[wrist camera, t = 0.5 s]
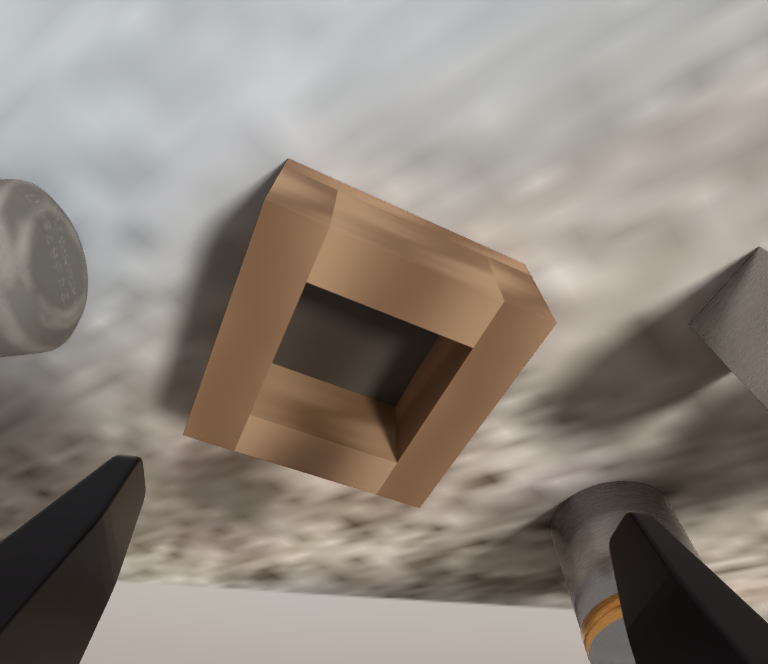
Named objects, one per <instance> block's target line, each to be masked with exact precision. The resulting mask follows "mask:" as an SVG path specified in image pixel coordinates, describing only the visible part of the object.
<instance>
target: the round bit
mask: <svg viewBox="0 0 768 664" xmlns="http://www.w3.org/2000/svg"><path fill="white" fill-rule="evenodd" d="M631 511H632V512H641V513H647V514H650V515H652V516H653V517H654V518H655V519H656V520H658V521H659V522H660V523H661V524H662V525H663V526H664V527H665V528H666V529H667V530H668V531H669V532H670V533H672V534H673V535H674V536H675V537H676V538H677V539H678V540H679V541H680V542H681V543H682V544H683V545H684V546H685V547H687V548H688V549H689V550H690V551H691V552H692V553H693V554H694V555H695V556H696V557H697V558H698V559H699V560H700V561H702V560H701V558H700V557H699V555H698V553H697V551H696V550H695V548H694V546H693V544H692V543H691V541H690V539H689V537H688V536H687V534H686V532H685V530H684V529H683V527H682V525H681V523H680V522H679V520H678V518H677V516H676V514H675V513H674V511H673V509H672V507H671V506H670V504H669V502H668V500H667V499H666V497H665V496H664V495H663V494H662V493H661V492H660V491H659V490H657V489H655V488H654V487H651V486H649V485H646V484H643V483H638V482H631V481H616V482H608V483H603V484H599V485H595V486H592V487H589V488H587V489H584V490H582V491H580V492H578V493H576V494H575V495H573V496H571V497H570V498H568V499H567V500H566V501H565V502H564V503H562V504H561V505H560V506H559V508H558V509H557V510H556V511H555V513H554V515H553V517H552V519H551V522H550V534H551V538H552V541H553V544H554V547H555V550H556V554H557V557H558V560H559V563H560V566H561V569H562V573H563V576H564V579H565V582H566V585H567V589H568V592H569V595H570V598H571V601H572V604H573V608H574V611H575V614H576V617H577V620H578V623H579V627H580V630H581V636H582V639H583V643H584V646H585V649H586V652H587V656H588V659H589V661H590V663H591V664H636V663H635V659H634V656H633V653H632V650H631V646H630V643H629V639H628V636H627V632H626V628H625V624H624V620H623V615H622V611H621V606H620V601H619V596H618V591H617V586H616V581H615V576H614V571H613V566H612V561H611V556H610V551H609V541H610V538H611V536H612V534H613V532H614V531H615V529H616V527H617V526H618V524H619V523H620V521H621V519H622V518H623V516H624V515H625V514H626V513H628V512H631Z"/></svg>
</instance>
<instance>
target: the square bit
mask: <svg viewBox="0 0 768 664" xmlns="http://www.w3.org/2000/svg"><path fill="white" fill-rule="evenodd" d="M689 326H690V327H691V328H692V329H693V330H694V331H695V332H696V333H697V335H698V336H699V337H700V338H701V339H702V340H703V341H704V342H705V343H706V344H707V345H708V346H709V347H710V348H711V349H712V351H713V352H714V353H715V354H716V355H717V356H718V357H719V358H720V359H721V360H722V361H723V362H724V363H725V364H726V366H727V367H728V368H729V369H730V370H731V371H732V372H733V373H734V374H735V375H736V376H737V377H738V378H739V379H740V380H741V382H742V383H743V384H744V385H745V386H746V387H747V388H748V389H749V390H750V391H751V392H752V393H753V394H754V395H755V396H756V398H757V399H758V400H759V401H760V402H761V403H762V404H763V405H764V406H765V407H766V408H767V409H768V251H767V250H765V249H763V248H761V247H759V248H758V249H757V250H756V251H755V252H754V253H753V254H752V255H751V256H750V258H749V259H748V260H747V261H746V262H745V263H744V264H743V265H742V266H741V268H740V269H739V270H738V271H737V272H736V273H735V274H734V275H733V276H732V278H731V279H730V280H729V281H728V282H727V283H726V284H725V285H724V286H723V288H722V289H721V290H720V291H719V292H718V293H717V294H716V295H715V296H714V298H713V299H712V300H711V301H710V302H709V303H708V304H707V305H706V307H705V308H704V309H703V310H702V311H701V312H700V313H699V314H698V315H697V317H696V318H695V319H694V320H693V321H692V322H691V323H690V324H689Z"/></svg>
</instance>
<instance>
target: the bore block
mask: <svg viewBox="0 0 768 664" xmlns="http://www.w3.org/2000/svg"><path fill="white" fill-rule="evenodd" d="M555 325H556V321H555V319H554V317H553V315H552V314H551V312H550V310H549V308H548V306H547V304H546V302H545V301H544V299H543V297H542V295H541V293H540V291H539V289H538V288H537V286H536V284H535V282H534V280H533V278H532V276H531V275H530V273H529V271H528V269H527V267H526V265H525V264H523V263H520V262H518V261H516V260H514V259H511V258H509V257H507V256H505V255H503V254H500V253H498V252H496V251H494V250H491V249H489V248H487V247H485V246H482V245H480V244H478V243H476V242H474V241H471V240H469V239H467V238H465V237H462V236H460V235H458V234H456V233H453V232H451V231H449V230H447V229H445V228H442V227H440V226H438V225H436V224H433V223H431V222H429V221H427V220H424V219H422V218H420V217H418V216H416V215H413V214H411V213H409V212H407V211H404V210H402V209H400V208H398V207H395V206H393V205H391V204H389V203H386V202H384V201H382V200H380V199H378V198H375V197H373V196H371V195H369V194H366V193H364V192H362V191H360V190H357V189H355V188H353V187H351V186H349V185H346V184H344V183H342V182H340V181H337V180H335V179H333V178H331V177H328V176H326V175H324V174H322V173H320V172H317V171H315V170H313V169H311V168H308V167H306V166H304V165H302V164H299V163H297V162H295V161H293V160H291V159H287V161H286V163H285V165H284V166H283V168H282V170H281V172H280V173H279V175H278V177H277V179H276V180H275V182H274V184H273V186H272V187H271V189H270V191H269V193H268V194H267V196H266V198H265V200H264V203H263V206H262V209H261V211H260V214H259V217H258V220H257V223H256V226H255V229H254V232H253V234H252V237H251V240H250V243H249V246H248V249H247V252H246V255H245V257H244V260H243V263H242V266H241V269H240V272H239V275H238V278H237V281H236V283H235V286H234V289H233V292H232V295H231V298H230V301H229V304H228V306H227V309H226V312H225V315H224V318H223V321H222V324H221V327H220V329H219V332H218V335H217V338H216V341H215V344H214V347H213V350H212V352H211V355H210V358H209V361H208V364H207V367H206V370H205V373H204V376H203V378H202V381H201V384H200V387H199V390H198V393H197V396H196V399H195V401H194V404H193V407H192V410H191V413H190V416H189V419H188V422H187V424H186V427H185V430H184V433H183V435H185V436H188V437H191V438H194V439H198V440H201V441H204V442H207V443H210V444H214V445H217V446H220V447H223V448H227V449H230V450H233V451H236V452H240V453H243V454H246V455H249V456H253V457H256V458H259V459H262V460H266V461H269V462H272V463H275V464H279V465H282V466H285V467H288V468H292V469H295V470H298V471H301V472H305V473H308V474H311V475H314V476H318V477H321V478H324V479H327V480H330V481H334V482H337V483H340V484H343V485H347V486H350V487H353V488H356V489H360V490H363V491H366V492H369V493H373V494H376V495H379V496H382V497H386V498H389V499H392V500H395V501H399V502H402V503H405V504H408V505H412V506H415V507H418V508H420V507H421V505H422V504H423V503H424V501H425V500H426V499H427V497H428V496H429V495H430V493H431V492H432V491H433V489H434V488H435V487H436V485H437V484H438V482H439V481H440V480H441V478H442V477H443V476H444V474H445V473H446V472H447V470H448V469H449V468H450V466H451V465H452V464H453V462H454V461H455V460H456V458H457V457H458V455H459V454H460V453H461V451H462V450H463V449H464V447H465V446H466V445H467V443H468V442H469V441H470V439H471V438H472V437H473V435H474V434H475V433H476V431H477V430H478V429H479V427H480V426H481V424H482V423H483V422H484V420H485V419H486V418H487V416H488V415H489V414H490V412H491V411H492V410H493V408H494V407H495V406H496V404H497V403H498V402H499V400H500V399H501V397H502V396H503V395H504V393H505V392H506V391H507V389H508V388H509V387H510V385H511V384H512V383H513V381H514V380H515V379H516V377H517V376H518V375H519V373H520V372H521V371H522V369H523V368H524V366H525V365H526V364H527V362H528V361H529V360H530V358H531V357H532V356H533V354H534V353H535V352H536V350H537V349H538V348H539V346H540V345H541V344H542V342H543V341H544V340H545V338H546V337H547V335H548V334H549V333H550V331H551V330H552V329H553V327H554V326H555Z"/></svg>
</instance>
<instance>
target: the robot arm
mask: <svg viewBox="0 0 768 664" xmlns="http://www.w3.org/2000/svg"><path fill="white" fill-rule="evenodd" d="M144 497H145V479H144V469H143V462H142V459H141V458H140V457H137V456H128V455H116V456H114V457H112V458H111V459H110V460H108V461H107V462H106V463H104V464H103V465H102V466H101V467H99V468H98V469H97V470H95V471H94V472H93V473H91V474H90V475H89V476H87V477H86V478H85V479H83V480H82V481H81V482H79V483H78V484H77V485H75V486H74V487H73V488H72V489H70V490H69V491H68V492H66V493H65V494H64V495H62V496H61V497H60V498H58V499H57V500H56V501H54V502H53V503H52V504H50V505H49V506H48V507H46V508H45V509H44V510H43V511H41V512H40V513H39V514H37V515H36V516H35V517H33V518H32V519H31V520H29V521H28V522H27V523H25V524H24V525H23V526H21V527H20V528H19V529H17V530H16V531H15V532H14V533H12V534H11V535H10V536H8V537H7V538H6V539H4V540H3V541H2V542H0V664H79V663H80V661H81V659H82V657H83V654H84V652H85V650H86V648H87V646H88V644H89V641H90V639H91V637H92V635H93V633H94V631H95V628H96V626H97V624H98V622H99V620H100V617H101V615H102V613H103V611H104V609H105V607H106V605H107V602H108V600H109V598H110V596H111V593H112V591H113V589H114V586H115V584H116V581H117V578H118V576H119V573H120V570H121V567H122V564H123V561H124V558H125V555H126V552H127V549H128V546H129V543H130V540H131V537H132V534H133V531H134V528H135V525H136V522H137V519H138V516H139V513H140V510H141V507H142V504H143V501H144ZM609 551H610V556H611V561H612V566H613V571H614V576H615V581H616V586H617V591H618V596H619V601H620V606H621V611H622V615H623V620H624V624H625V628H626V632H627V636H628V639H629V643H630V646H631V650H632V653H633V656H634V659H635V663H636V664H768V623H767V622H766V621H765V620H764V619H763V618H762V617H761V616H760V615H758V614H757V613H756V612H755V611H754V610H753V609H752V608H751V607H750V606H749V605H748V604H747V603H746V602H745V601H743V600H742V599H741V598H740V597H739V596H738V595H737V594H736V593H735V592H734V591H733V590H732V589H731V588H729V587H728V586H727V585H726V584H725V583H724V582H723V581H722V580H721V579H720V578H719V577H718V576H717V575H716V574H714V573H713V572H712V571H711V570H710V569H709V568H708V567H707V566H706V565H705V564H704V563H703V562H702V561H700V560H699V559H698V558H697V557H696V556H695V555H694V554H693V553H692V552H691V551H690V550H689V549H688V548H687V547H685V546H684V545H683V544H682V543H681V542H680V541H679V540H678V539H677V538H676V537H675V536H674V535H673V534H672V533H670V532H669V531H668V530H667V529H666V528H665V527H664V526H663V525H662V524H661V523H660V522H659V521H658V520H656V519H655V518H654V517H653V516H652V515H650V514H647V513H641V512H632V511H631V512H628V513H626V514H625V515H624V516H623V518H622V519H621V521H620V523H619V524H618V526H617V527H616V529H615V531H614V532H613V534H612V536H611V538H610V541H609Z"/></svg>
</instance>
